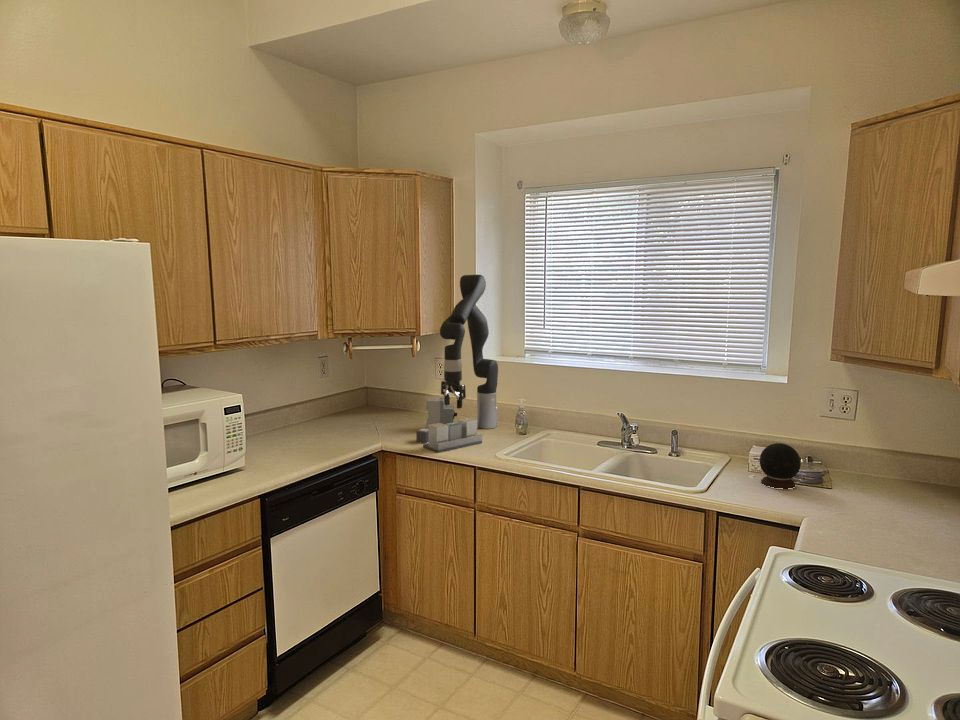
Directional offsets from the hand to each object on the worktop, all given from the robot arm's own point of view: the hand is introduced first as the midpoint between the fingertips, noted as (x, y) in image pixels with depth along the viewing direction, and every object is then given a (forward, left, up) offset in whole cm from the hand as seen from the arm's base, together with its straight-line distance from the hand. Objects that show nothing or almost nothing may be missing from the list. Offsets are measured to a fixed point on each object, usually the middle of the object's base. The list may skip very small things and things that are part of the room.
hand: (453, 406), depth 268 cm
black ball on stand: (-58, +114, -17) cm, 129 cm away
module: (0, 0, -16) cm, 16 cm away
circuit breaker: (-12, -24, -17) cm, 32 cm away
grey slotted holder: (0, 0, -17) cm, 17 cm away
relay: (+6, -13, -17) cm, 22 cm away
